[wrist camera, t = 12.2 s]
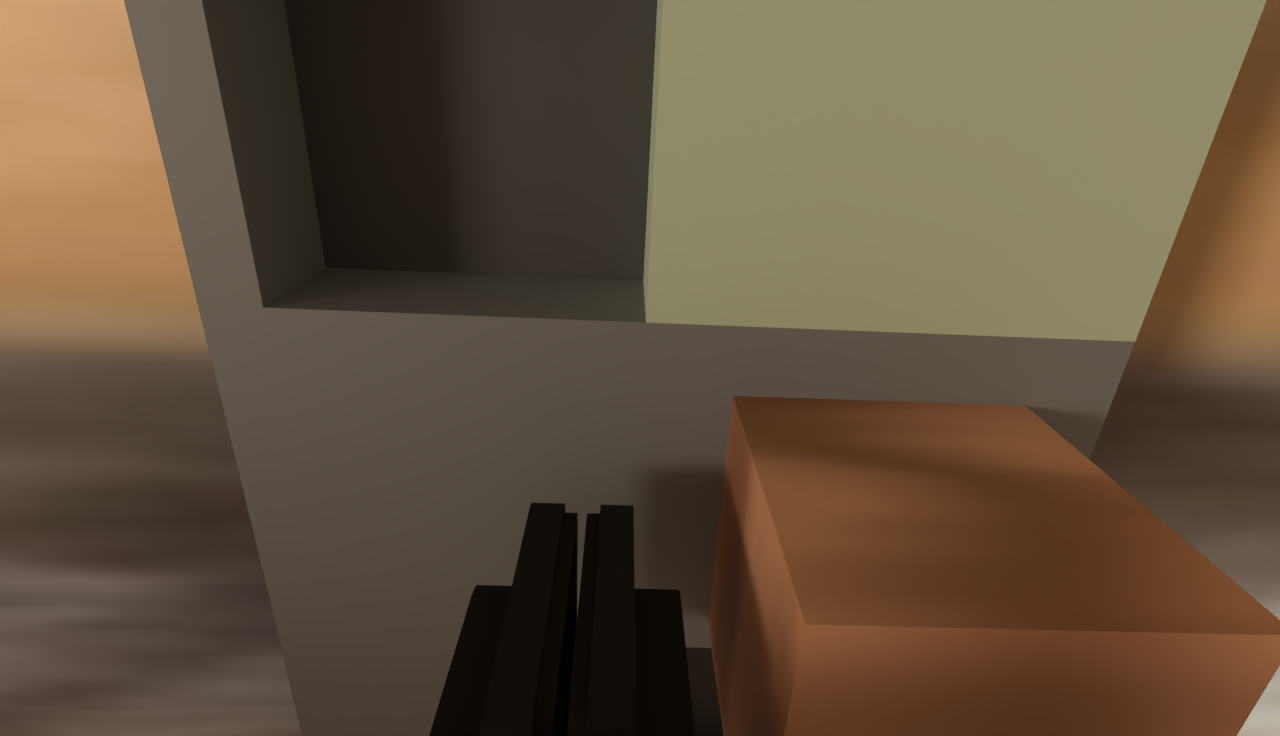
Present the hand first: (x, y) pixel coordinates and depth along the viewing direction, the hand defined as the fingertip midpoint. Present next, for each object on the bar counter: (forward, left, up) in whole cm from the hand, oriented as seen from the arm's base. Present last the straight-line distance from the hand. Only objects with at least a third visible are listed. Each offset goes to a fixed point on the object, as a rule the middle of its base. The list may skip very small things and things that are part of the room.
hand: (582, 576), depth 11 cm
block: (+5, 0, -1) cm, 5 cm away
